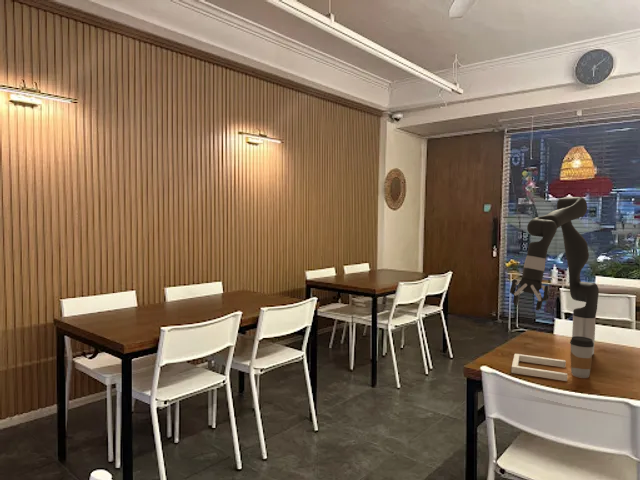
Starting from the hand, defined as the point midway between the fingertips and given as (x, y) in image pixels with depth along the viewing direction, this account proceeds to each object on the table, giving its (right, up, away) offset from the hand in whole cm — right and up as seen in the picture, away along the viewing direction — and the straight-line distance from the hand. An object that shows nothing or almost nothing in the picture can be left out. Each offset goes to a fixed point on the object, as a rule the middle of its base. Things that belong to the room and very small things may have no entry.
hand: (526, 307), depth 186 cm
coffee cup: (+22, -27, -1) cm, 35 cm away
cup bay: (+7, -27, +7) cm, 28 cm away
